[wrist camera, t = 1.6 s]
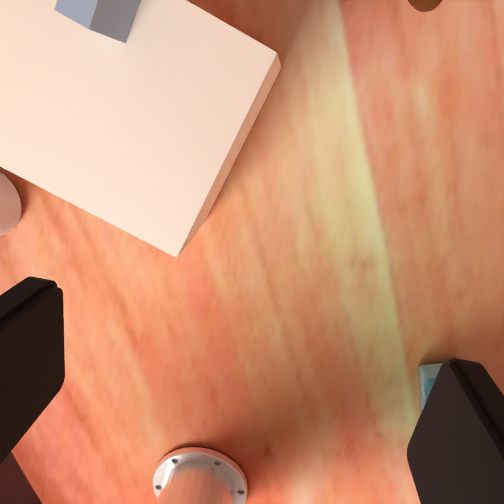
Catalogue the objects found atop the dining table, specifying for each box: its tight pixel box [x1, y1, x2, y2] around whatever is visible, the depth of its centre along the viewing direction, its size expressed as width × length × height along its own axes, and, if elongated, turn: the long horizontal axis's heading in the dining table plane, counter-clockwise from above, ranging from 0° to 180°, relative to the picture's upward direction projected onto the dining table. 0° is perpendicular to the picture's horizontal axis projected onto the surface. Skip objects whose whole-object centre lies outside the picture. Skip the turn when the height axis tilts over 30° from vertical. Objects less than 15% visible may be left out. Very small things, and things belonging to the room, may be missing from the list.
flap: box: [0, 0, 277, 258], centre depth 25 cm, size 16×20×6 cm
